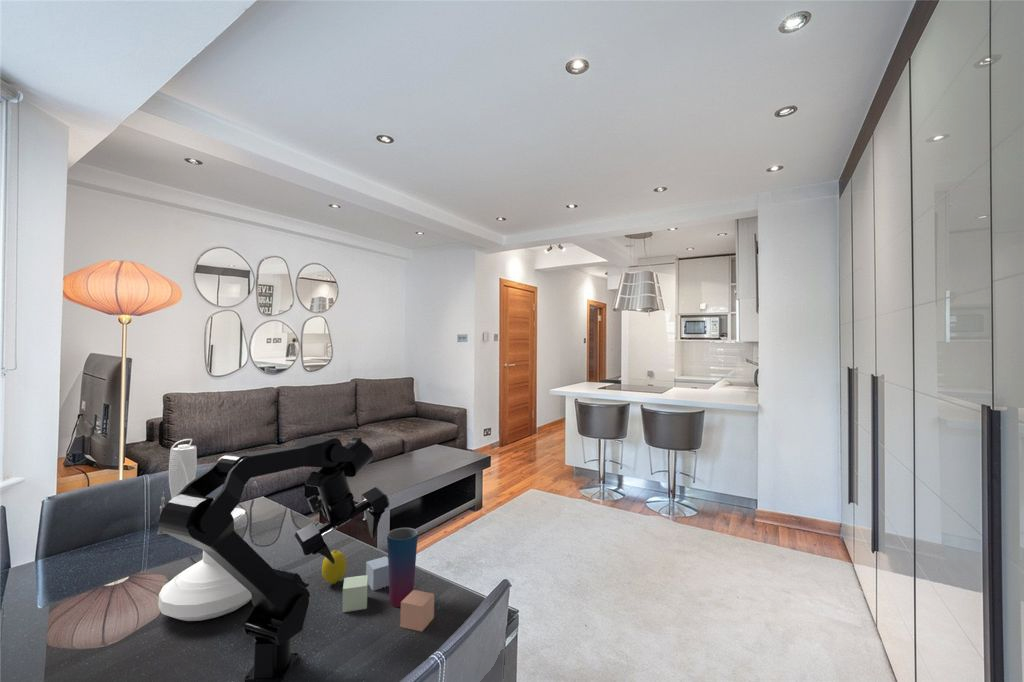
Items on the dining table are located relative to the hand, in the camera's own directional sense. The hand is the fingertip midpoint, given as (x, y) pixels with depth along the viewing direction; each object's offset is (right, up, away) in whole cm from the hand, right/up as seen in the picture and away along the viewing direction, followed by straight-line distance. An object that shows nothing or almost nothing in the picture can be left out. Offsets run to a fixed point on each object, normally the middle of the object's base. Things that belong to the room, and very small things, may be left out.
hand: (353, 549), depth 95 cm
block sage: (0, -13, +1) cm, 13 cm away
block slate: (+3, -13, +10) cm, 17 cm away
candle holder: (-31, -13, +1) cm, 34 cm away
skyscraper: (-72, -14, +43) cm, 85 cm away
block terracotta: (+15, -13, -5) cm, 21 cm away
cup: (+10, -13, +2) cm, 16 cm away
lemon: (-8, -13, +10) cm, 18 cm away
